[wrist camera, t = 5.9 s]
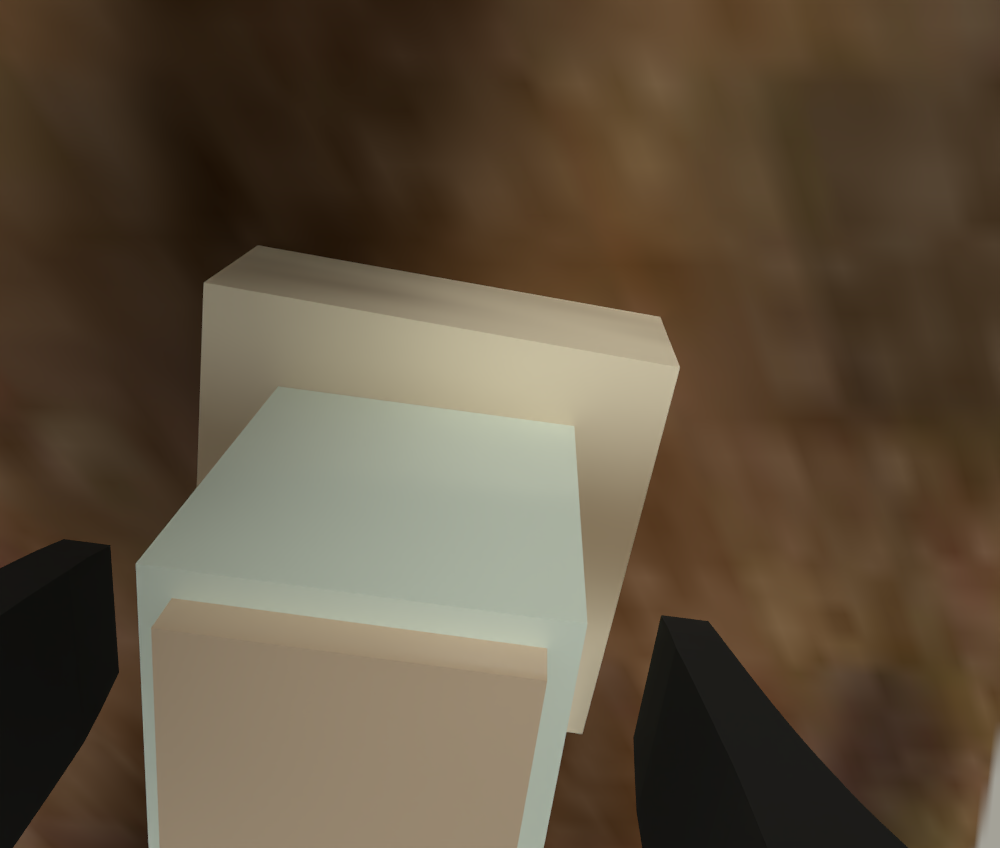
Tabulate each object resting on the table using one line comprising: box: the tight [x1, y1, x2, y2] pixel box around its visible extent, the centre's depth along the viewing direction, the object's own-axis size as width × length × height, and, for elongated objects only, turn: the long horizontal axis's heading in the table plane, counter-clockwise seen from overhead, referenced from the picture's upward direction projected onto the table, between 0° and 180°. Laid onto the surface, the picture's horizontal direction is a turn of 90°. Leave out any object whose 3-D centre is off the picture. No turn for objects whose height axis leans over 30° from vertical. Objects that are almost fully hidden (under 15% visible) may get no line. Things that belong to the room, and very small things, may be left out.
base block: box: [197, 245, 680, 734], centre depth 16 cm, size 7×7×3 cm
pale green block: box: [136, 386, 588, 848], centre depth 12 cm, size 4×4×6 cm
